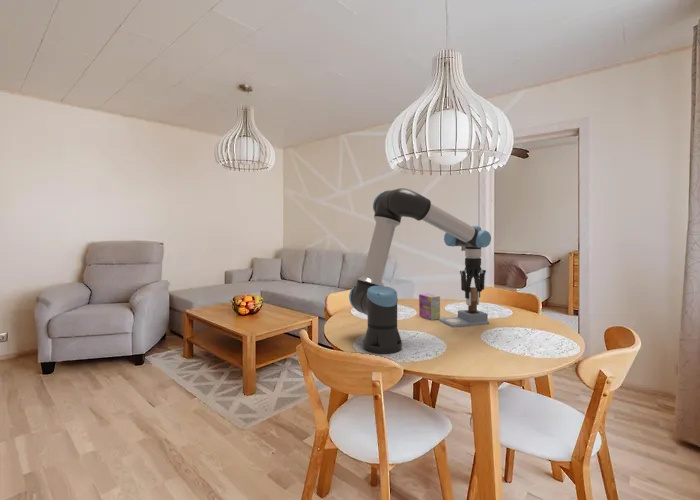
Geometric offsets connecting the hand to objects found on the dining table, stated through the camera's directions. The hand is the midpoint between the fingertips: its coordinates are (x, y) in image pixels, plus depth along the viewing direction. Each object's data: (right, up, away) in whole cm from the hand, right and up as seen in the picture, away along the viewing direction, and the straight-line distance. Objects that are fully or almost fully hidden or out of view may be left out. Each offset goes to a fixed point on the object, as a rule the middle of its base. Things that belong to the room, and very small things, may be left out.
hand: (472, 304), depth 172 cm
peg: (0, -4, 0) cm, 4 cm away
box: (-19, -8, +9) cm, 23 cm away
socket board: (-5, -9, -1) cm, 10 cm away
